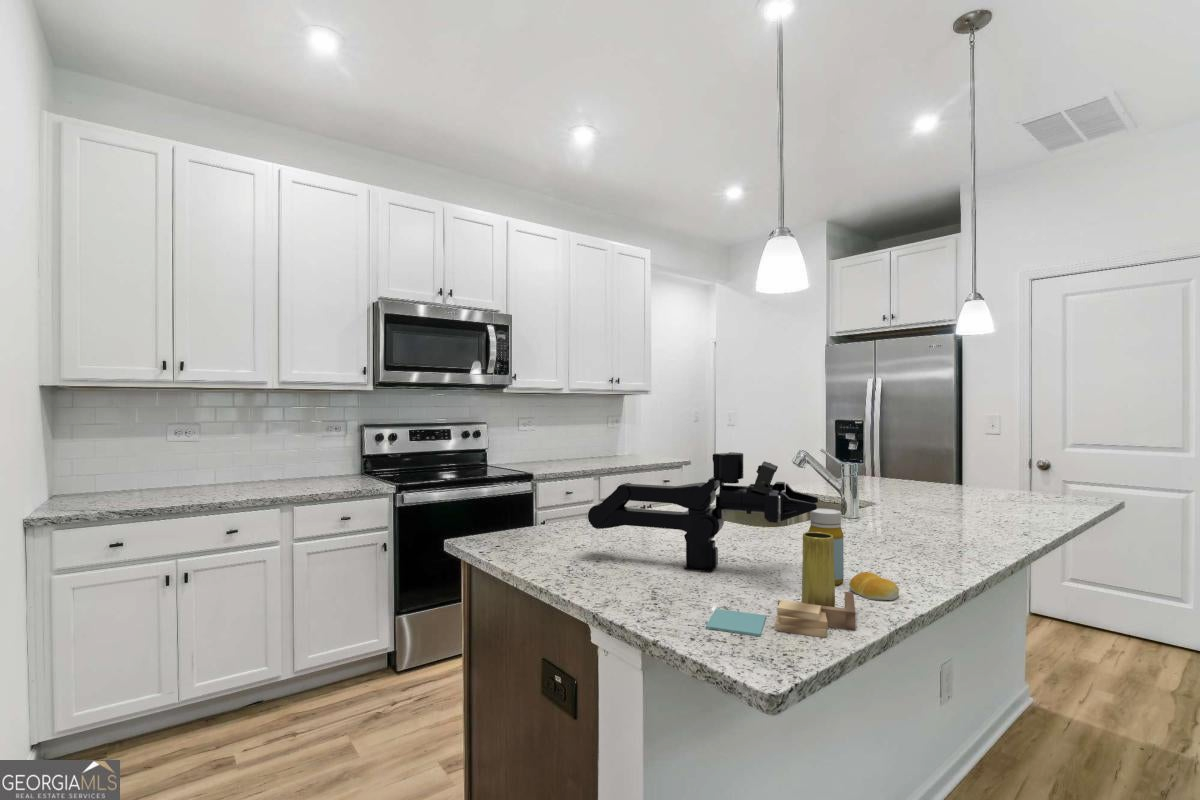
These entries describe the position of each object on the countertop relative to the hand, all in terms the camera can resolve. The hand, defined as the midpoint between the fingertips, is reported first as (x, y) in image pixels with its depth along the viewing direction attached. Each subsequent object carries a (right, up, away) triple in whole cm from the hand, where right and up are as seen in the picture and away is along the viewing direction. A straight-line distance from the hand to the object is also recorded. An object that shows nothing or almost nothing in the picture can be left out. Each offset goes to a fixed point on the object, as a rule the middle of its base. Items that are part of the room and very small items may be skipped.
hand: (817, 503), depth 125 cm
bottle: (+2, -17, -1) cm, 17 cm away
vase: (-7, -17, -20) cm, 27 cm away
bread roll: (+8, -17, -9) cm, 21 cm away
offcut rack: (-9, -16, -23) cm, 29 cm away
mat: (-23, -17, -24) cm, 37 cm away
